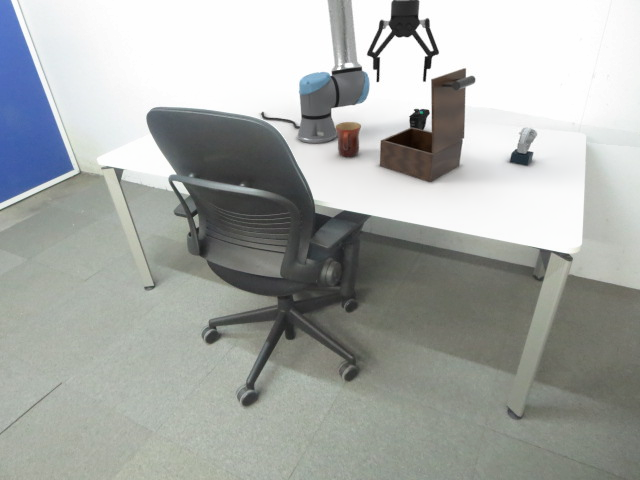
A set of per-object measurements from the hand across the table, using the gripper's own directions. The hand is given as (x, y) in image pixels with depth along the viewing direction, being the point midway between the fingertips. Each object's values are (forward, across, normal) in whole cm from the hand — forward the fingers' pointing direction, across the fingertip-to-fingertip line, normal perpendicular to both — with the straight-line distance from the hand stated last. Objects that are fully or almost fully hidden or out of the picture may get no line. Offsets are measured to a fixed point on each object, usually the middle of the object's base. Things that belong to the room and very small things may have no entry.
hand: (400, 81), depth 126 cm
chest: (+27, +8, 0) cm, 28 cm away
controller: (+27, +8, +32) cm, 43 cm away
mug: (+27, -17, +7) cm, 33 cm away
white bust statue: (+27, +40, +5) cm, 48 cm away
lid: (+7, +14, -5) cm, 16 cm away
